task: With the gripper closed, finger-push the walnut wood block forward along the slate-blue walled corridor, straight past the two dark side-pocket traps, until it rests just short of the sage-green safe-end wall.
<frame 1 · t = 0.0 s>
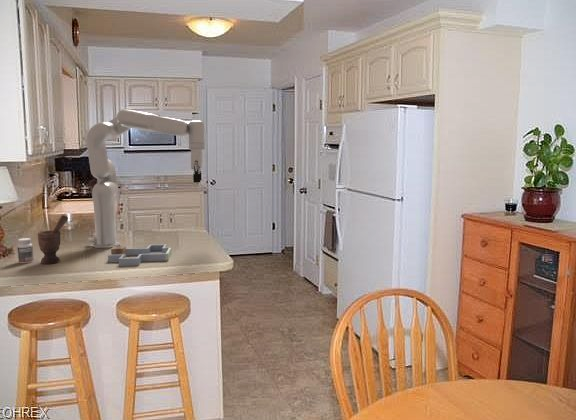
hand: (197, 181, 248), 31 cm above the countertop, fingers open, 9 cm apart
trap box: (139, 257, 222), on the countertop
mortar and pestle: (54, 262, 216), on the countertop
pill bottle: (26, 262, 215), on the countertop
block: (118, 258, 221), on the countertop
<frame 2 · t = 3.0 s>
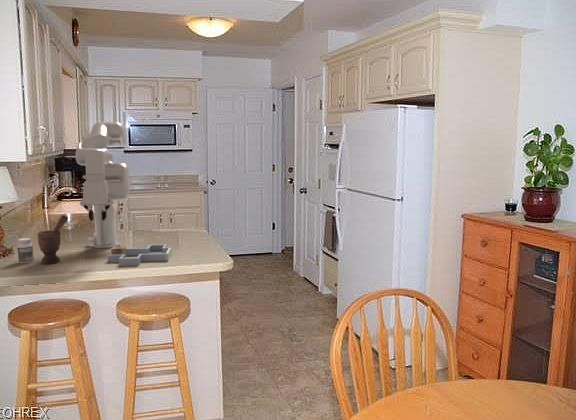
hand: (97, 219, 218), 17 cm above the countertop, fingers open, 4 cm apart
nothing on the countertop moved.
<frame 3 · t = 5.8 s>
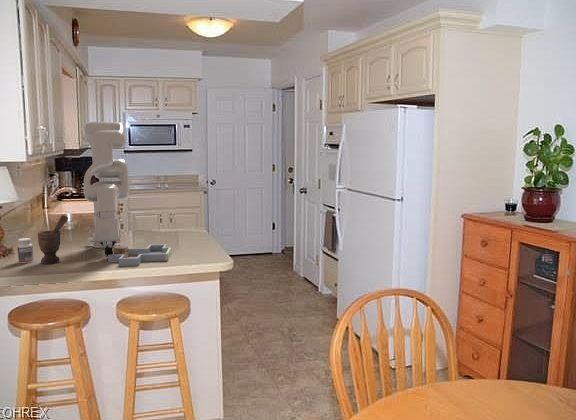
hand: (109, 256, 221), 1 cm above the countertop, fingers closed
block: (120, 258, 221), on the countertop, touching gripper
everything else where it was.
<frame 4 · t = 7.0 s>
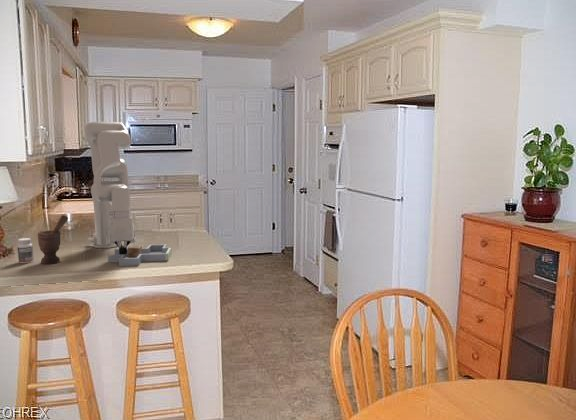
hand: (123, 255, 221), 1 cm above the countertop, fingers closed
block: (135, 258, 222), on the countertop, touching gripper
everything else where it was.
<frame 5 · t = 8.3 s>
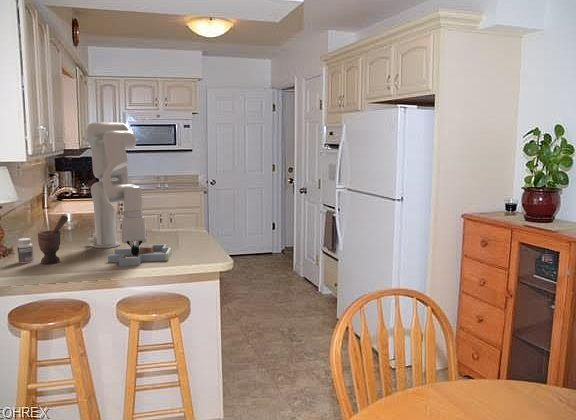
hand: (135, 255, 222), 1 cm above the countertop, fingers closed
block: (147, 257, 222), on the countertop, touching gripper
everything else where it was.
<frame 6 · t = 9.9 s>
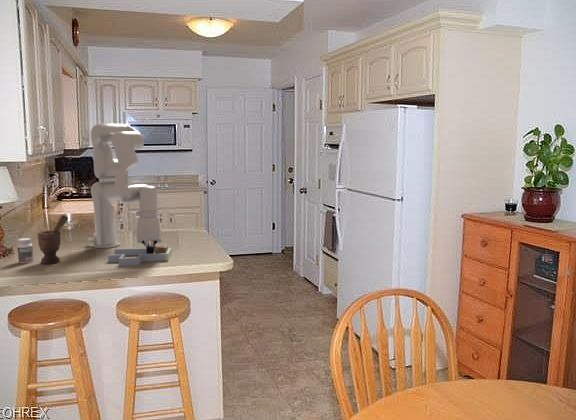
hand: (150, 255, 223), 1 cm above the countertop, fingers closed
block: (161, 257, 223), on the countertop, touching gripper, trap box
everything else where it was.
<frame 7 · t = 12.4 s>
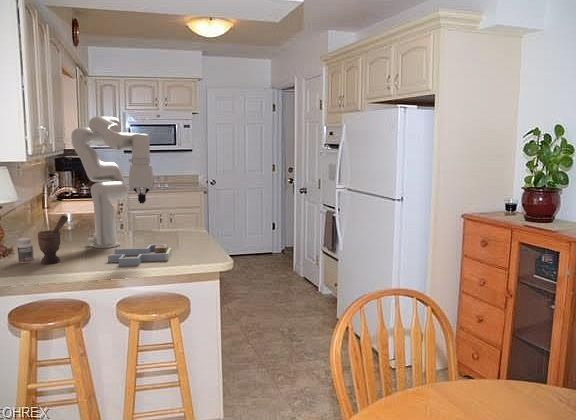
hand: (142, 202, 226), 24 cm above the countertop, fingers closed
block: (161, 257, 223), on the countertop
everything else where it was.
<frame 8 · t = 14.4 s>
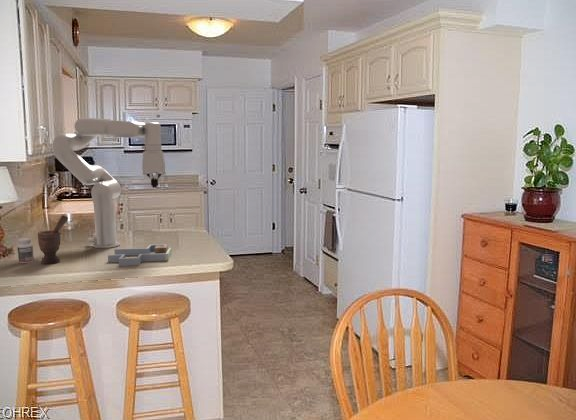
hand: (154, 187, 241), 29 cm above the countertop, fingers closed
nothing on the countertop moved.
at the end: block inside the target area (0.3 cm from its centre), on the countertop; block tilted 0° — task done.
